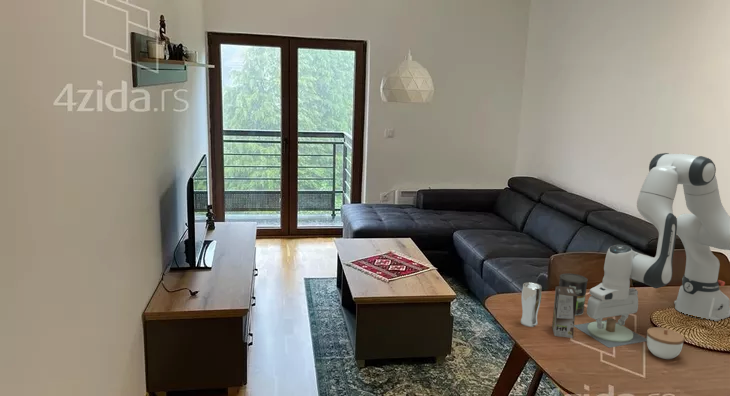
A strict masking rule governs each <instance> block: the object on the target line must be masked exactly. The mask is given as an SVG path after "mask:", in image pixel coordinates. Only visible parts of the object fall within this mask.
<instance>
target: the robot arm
mask: <svg viewBox="0 0 730 396" xmlns="http://www.w3.org/2000/svg"><path fill="white" fill-rule="evenodd" d="M648 171H649V172H648V173H647V175H646V177H645V179H644V181H643V183H642V185H641V188H640V191H639V193H638V197H637V201H636V209H637V211H638V212H639V214H640V215H641V216H642V217H643V218H644V219H645V220H646V221H647V222H649V223H650V224H652V225H653V226H654V227H655V228H656V230H657V232H658V240H657V245H656V247H657V248H656V253H655V256H654V257H653V256H650V255H647V254H644V253H642V252H638V251H635V250H633V249H632V247H630V246H629V245H626V244H614V245H611V246H610V247H609V248H608V249H607V251H606V255H605V260H604V265H603V271H604V274H603V275H604V276H603V277H602V282H600V283H599V284H597V285H596V286H594V287H592V288H590V289H589V295H590V296H589V298H588V300H587V304H586V305H587V306H586V314H587V316H588V317H589V318H592V319H593V320H595V322H597V328H599V329H603V328H604V324H603V323H602V322H601V321H604V320H603V319H605V318H606V319H607V318H612V317H618V316H620V318H619V319H618V320H617V323H618V325H620V326H625V323H626V321H627V320H628V318H629V315H631V314H632V315H633V314H637V312H638V310H639V296H638V295H639V292H638V289H636V288H635V287H631V288H630V285H631V281H630V279H632V280H634V281H637V282H639V283H643V284H645V285H646V286H649V287H651V288H653V289H659V288H660V289H661V288H663V287H665V286H667V285H668V284H669V283H671V281H672V278H673V270H674V269H673V259H674V254H675V253H674V252H675V247H676V240H677V239H676V238H677V236H678V238H680V240H681V242H682V245H683V247H684V250H685V256H686V257H685V258H686V260H685V268H684V269H685V270H684V274H683V276H682V280H681V285H680V286H679V290H678V293H677V296H676V300H675V299H674V301H673V302H674V308H675V310H676V311H677V312H679V313H681V312H682V313H681V314H683V313H684V315H686V314H688V315H687V316H689V315H693V316H697V317H701V318H700V319H703V318H706V319H705V320H709V319H710V320H709V321H713V320H714V322H719V321H721V319H722V320H724V319H727V318H729V317H730V298H729V297H728V295H726V294H725V293H724V292H722V290H721V289H720V286H721V287H725V285H726V281H723V280H721V279H718V278H719V273H720V266H721V264H720V260H719V258H718V257H717V256H716V255H714V253H713V251H712V250H711V248H713V249H718V250H723V251H730V215H729V213H728V212H727V211H726V209H725V208H724V206H723V203H722V199H721V195H720V191H719V190H720V189H719V185H718V180H717V175H716V171H717V168H716V164H715V162H714V161H713V160H712V159H711V158H709V157H706V156H702V155H699V156H698V155H695V154H694V155H693V154H689V153H669V152H664V153H659V154H658V153H657V154H656V155H654V156H653V158H652V159H651V160H650V162H649V166H648ZM678 185H682V189H683V194H684V200H685V203H686V204H685V205H686V208H687V209H688V211H689V212H690V213H682V214H680V215H678V216H676V215H675V214H674V212H673V211H674V210H673V203H674V201H675V197H676V194H677V189H678ZM710 247H711V248H710Z"/></svg>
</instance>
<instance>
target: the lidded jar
mask: <svg viewBox="0 0 730 396" xmlns="http://www.w3.org/2000/svg"><path fill="white" fill-rule="evenodd" d="M646 330H647V331H646V339H647V341H646V346H647V348H648V351H650V352H651V354H652V355H653V356H655V357H657V358H659V359H664V360H672V359H674V358H677V357H678V356H679V355H680V353H681V352H682V349H683V345H684V342H685V337H684V336H683V334H681V333H680V332H678V331H675V330H674V329H673V330H672V329H670V328H665V327H658V326H656V327H649V328H648V329H646Z"/></svg>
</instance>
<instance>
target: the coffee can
mask: <svg viewBox="0 0 730 396" xmlns="http://www.w3.org/2000/svg"><path fill="white" fill-rule="evenodd" d="M588 280H589V279H588V278H587V277H586V276H584V275H581V274H577V273H561V274H559V282H558V283H559V284H558V286H560V287H573V288H574V290H575V292H576V294H577V304H576V312H575V316H581V315H583V314H584V312H585V311H584V310H585V303H586V302H585V301H586V294H587V285H588Z"/></svg>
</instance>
